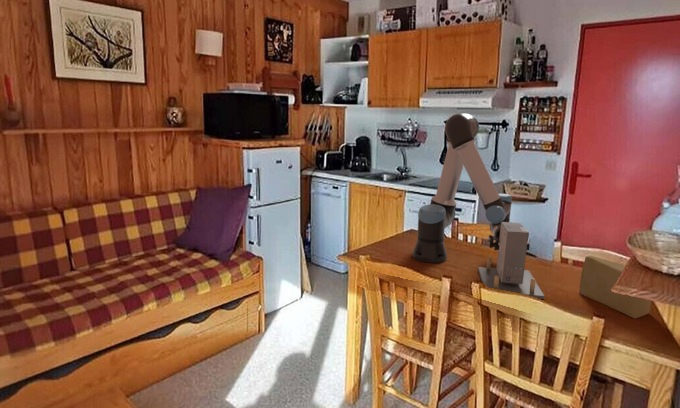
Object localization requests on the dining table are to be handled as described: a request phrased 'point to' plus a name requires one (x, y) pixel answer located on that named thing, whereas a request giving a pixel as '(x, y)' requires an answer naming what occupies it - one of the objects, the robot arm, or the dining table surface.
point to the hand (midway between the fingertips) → (513, 251)
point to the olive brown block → (609, 287)
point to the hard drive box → (512, 252)
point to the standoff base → (493, 281)
